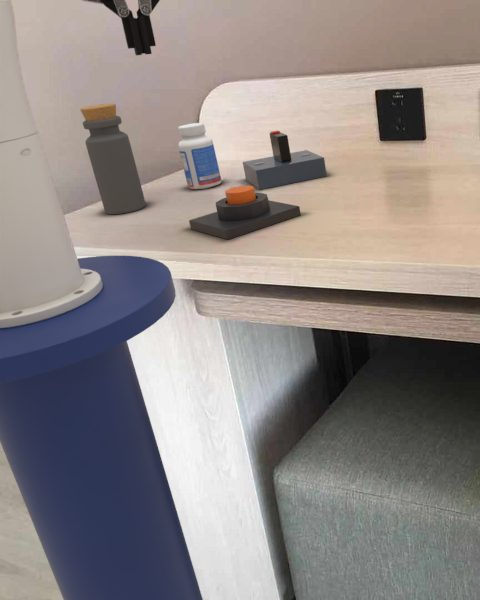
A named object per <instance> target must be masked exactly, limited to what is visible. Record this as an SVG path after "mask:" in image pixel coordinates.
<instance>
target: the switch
mask: <svg viewBox="0 0 480 600" xmlns="http://www.w3.org/2000/svg"><path fill="white" fill-rule="evenodd" d="M224 193H225V198H227V203H228V204H241V203H247V202H250V201H254V200H256V196H255V193H256V191H255V186H254V185H239V186H233V187H231V188H228V189H226V190H225V191H224Z"/></svg>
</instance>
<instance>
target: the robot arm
mask: <svg viewBox="0 0 480 600" xmlns="http://www.w3.org/2000/svg"><path fill="white" fill-rule="evenodd" d="M80 1H81V2H87V3H92V4H99V5H103V6H105V7H106V8H107V9H109V10H110V11H111V12H112V13H114V14H115V15H116V16H117V17H118V18H120V19H121V24H122V28H123V32H124V38H125V41H126V45H127V49H129V50H130V49H133V50H134V54H135V56H142V55H143V54H144V55H152V48H151V47H156V46H157V45H156V39H155V34H154V29H153V24H152V20H151V16H150V15H151V14H152V12H153V11H154V9H155V8H156V6H158V4H159V2H160V1H161V0H137V8H138V9H137V11H136V12H135V13H136V16H137V17H134V15H133V14H134V13H133V11H132V10H131V9H129V5H128V3H127V1H126V0H80ZM15 18H16V17H15V11H14V6H13V2H12V0H0V329H4V328H11V327H17V326H23V325H27V324H31V323H36V322H39V321H43V320H46V319H50V318H53V317H56V316H58V315H61V314H64V313H66V312H69V311H71V310H73V309H76V308H78V307H80V306H82V305H83V304H85V303H87V302H89V301H90V300H92V299H93V298H94V297H95V296H97V295H98V294H99V292H100V291H101V289H102V288H103V283H102V280H101V277H100V275H99V274H98V273H97V272H95V271H92V270H88V269H80V266H79V262H78V256H77V253H76V250H75V246H74V243H73V240H72V237H71V234H70V231H69V227H68V224H67V221H66V218H65V214H64V210H63V207H62V205H61V202H60V198H59V195H58V191H57V189H56V186H55V182H54V178H53V176H52V172H51V169H50V166H49V162H48V159H47V156H46V153H45V150H44V146H43V144H42V143H43V142H42V139H41V136H40V133H39V130H38V127H37V125H36V122H35V118H34V115H33V111H32V108H31V105H30V100H29V97H28V94H27V89H26V86H25V81H24V77H23V73H22V68H21V63H20V62H21V61H20V55H19V47H18V38H17V27H16V26H17V25H16V19H15Z"/></svg>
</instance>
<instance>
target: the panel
mask: <svg viewBox="0 0 480 600" xmlns="http://www.w3.org/2000/svg"><path fill="white" fill-rule="evenodd" d="M290 154H291V161H287V162H280V161H278V160H277V159H275V158H274V156H273V155H272V156H267V157H262V158H255V159H251V160H245V161H242V167H243V171H244V176H245V181H247V182H248V183H249V184H251V186H253V187H254V188H256V189H258V190H260V191H261V190H265V189H270V188H274V187H275V188H276V187H280V186H286V185H289V184H290V185H291V184H295V183H300V182H306V181H310V180H316V179H321V178H325V177H327V175H328V174H327V168H326V161H325V157H324V156H321V155H319V154H317V153H315V152H312V151H310V150H308V149H305V150H300V151H295V152H290Z"/></svg>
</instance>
